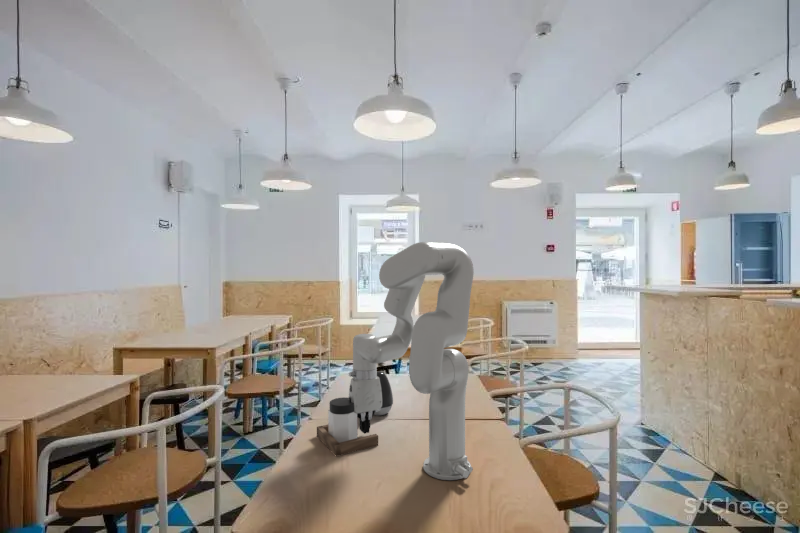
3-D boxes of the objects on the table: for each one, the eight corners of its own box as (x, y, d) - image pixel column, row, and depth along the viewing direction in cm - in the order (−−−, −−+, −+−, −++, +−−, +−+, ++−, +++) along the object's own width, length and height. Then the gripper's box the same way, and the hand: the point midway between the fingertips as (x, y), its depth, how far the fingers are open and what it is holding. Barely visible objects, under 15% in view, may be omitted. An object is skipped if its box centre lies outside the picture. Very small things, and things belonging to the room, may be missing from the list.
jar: (361, 442, 126) (360, 403, 126) (336, 448, 122) (335, 408, 122) (349, 432, 134) (349, 395, 134) (325, 437, 130) (325, 399, 129)
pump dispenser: (360, 410, 154) (360, 369, 154) (386, 406, 158) (386, 366, 158) (370, 420, 144) (370, 376, 144) (397, 415, 149) (397, 373, 149)
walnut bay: (378, 445, 124) (378, 435, 124) (336, 456, 117) (336, 445, 117) (355, 427, 138) (355, 418, 138) (316, 436, 131) (316, 426, 131)
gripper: (347, 380, 124) (347, 441, 124) (391, 373, 131) (391, 431, 131) (338, 374, 130) (338, 432, 130) (380, 368, 138) (380, 423, 138)
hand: (364, 431), depth 131 cm, fingers closed
